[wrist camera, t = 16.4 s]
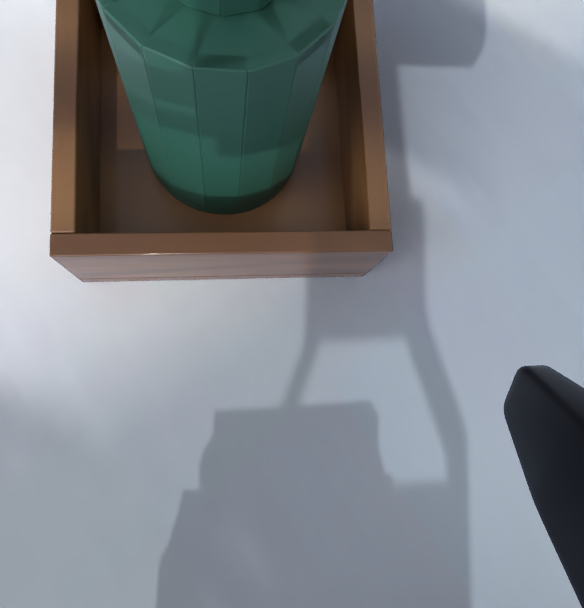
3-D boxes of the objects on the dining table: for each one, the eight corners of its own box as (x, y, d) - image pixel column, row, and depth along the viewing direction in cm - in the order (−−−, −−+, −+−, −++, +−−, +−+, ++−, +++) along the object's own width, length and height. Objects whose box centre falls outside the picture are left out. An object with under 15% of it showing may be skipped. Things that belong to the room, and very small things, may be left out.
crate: (364, 276, 23) (393, 251, 19) (82, 282, 21) (49, 256, 17) (346, 31, 25) (370, -39, 21) (85, 21, 23) (56, -57, 19)
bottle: (222, 245, 22) (218, 36, 9) (113, 138, 22) (-42, -217, 9) (327, 147, 23) (455, -158, 10) (224, 46, 23) (222, -377, 10)
